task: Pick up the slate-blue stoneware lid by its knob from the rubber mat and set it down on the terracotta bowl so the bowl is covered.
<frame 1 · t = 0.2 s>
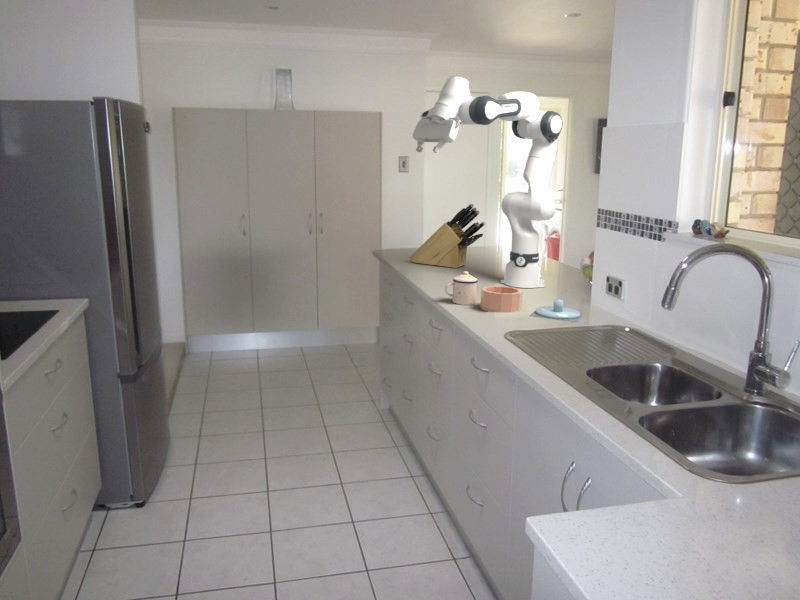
hand: (426, 151, 231), 54 cm above the worktop, tool tilted 30°, fingers open, 8 cm apart
teacup with lid: (460, 303, 240), on the worktop
knife block: (445, 265, 319), on the worktop
lid: (557, 314, 225), point 1 cm above the worktop, touching mat
mat: (557, 315, 225), on the worktop
bowl: (500, 308, 232), on the worktop
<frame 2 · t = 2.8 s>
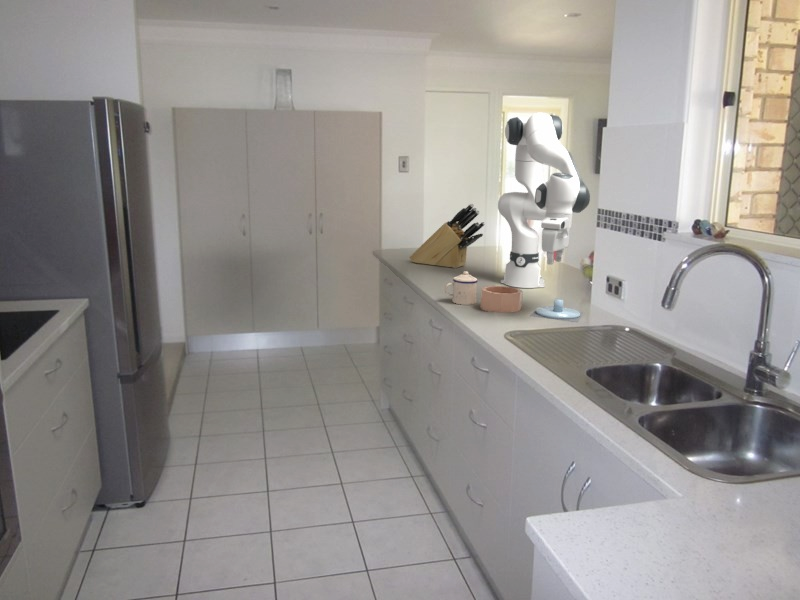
hand: (554, 262, 220), 19 cm above the worktop, tool pointing down, fingers open, 8 cm apart
nothing on the worktop moved.
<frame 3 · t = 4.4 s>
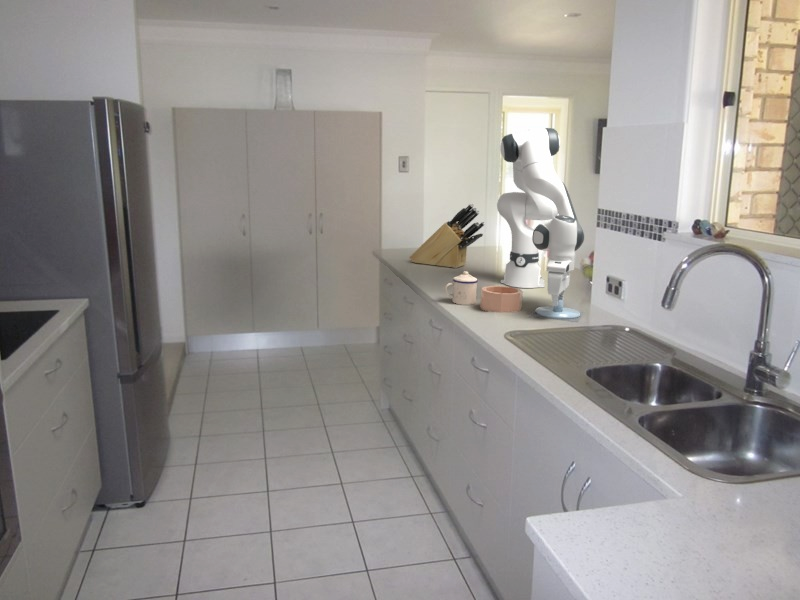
hand: (557, 303, 224), 4 cm above the worktop, tool pointing down, fingers open, 8 cm apart
nothing on the worktop moved.
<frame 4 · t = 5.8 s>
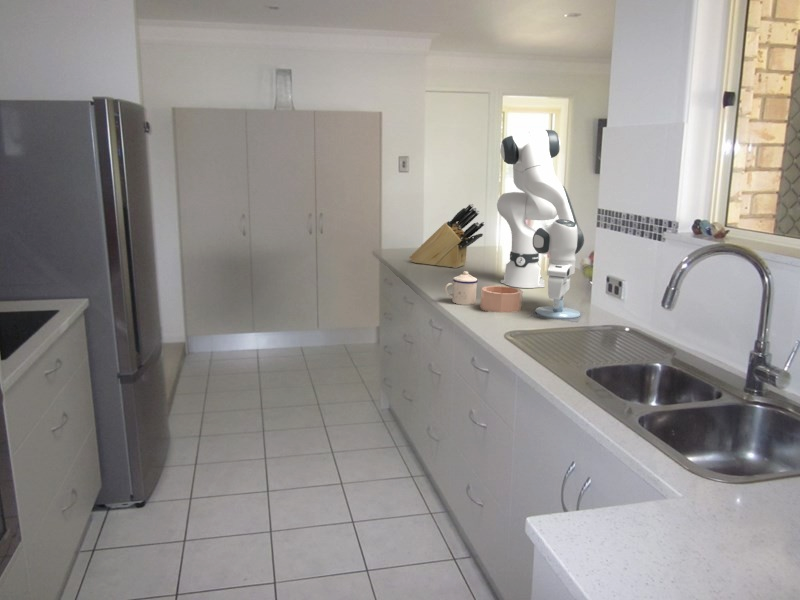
hand: (558, 306, 225), 3 cm above the worktop, tool pointing down, fingers closed on lid, 3 cm apart
lid: (557, 313, 225), point 1 cm above the worktop, touching gripper, mat
everything else where it was.
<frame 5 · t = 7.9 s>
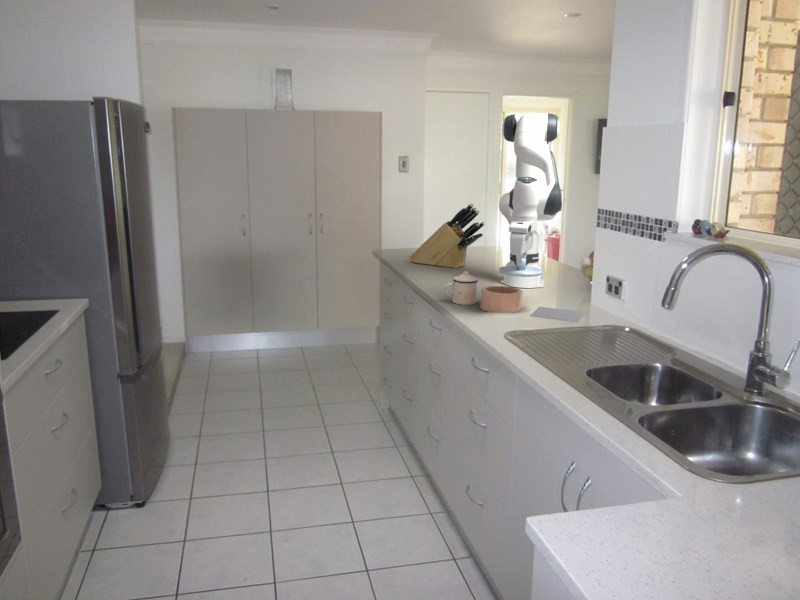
hand: (520, 264, 227), 17 cm above the worktop, tool pointing down, fingers closed on lid, 3 cm apart
lid: (520, 272, 227), point 14 cm above the worktop, touching gripper
everything else where it was.
when the fingers open (11 cm above the worktop, at t = 10.0 s): lid drops 1 cm, resting on bowl.
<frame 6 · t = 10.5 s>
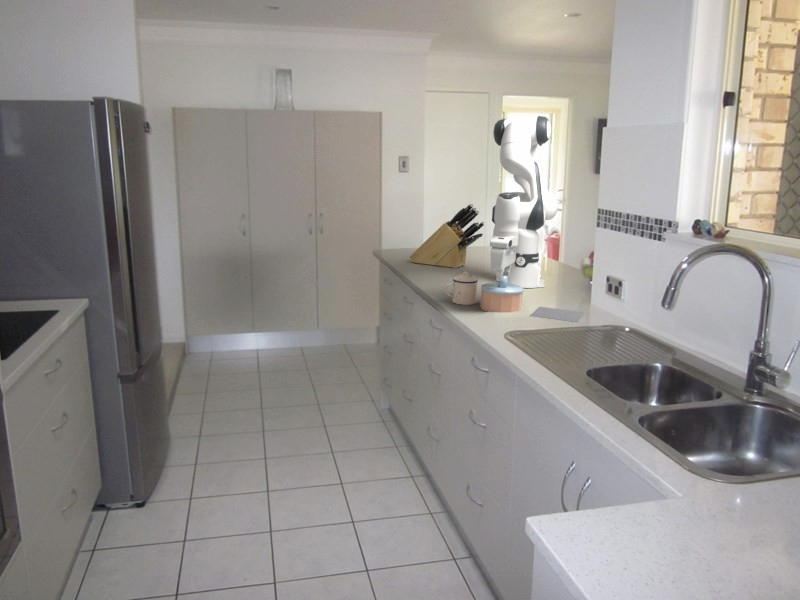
hand: (502, 278, 230), 11 cm above the worktop, tool pointing down, fingers open, 8 cm apart
lid: (502, 289, 231), point 7 cm above the worktop, touching bowl
everything else where it was.
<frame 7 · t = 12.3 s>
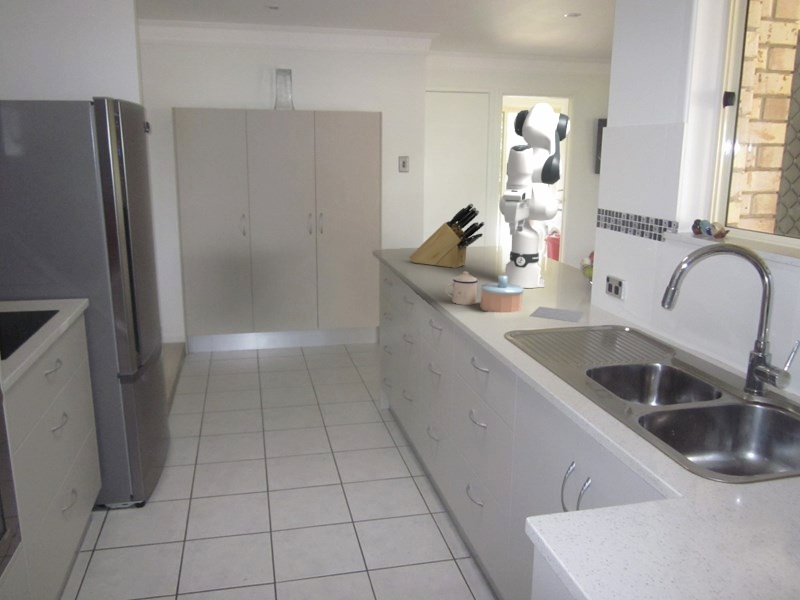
hand: (516, 233, 228), 27 cm above the worktop, tool pointing down, fingers open, 8 cm apart
nothing on the worktop moved.
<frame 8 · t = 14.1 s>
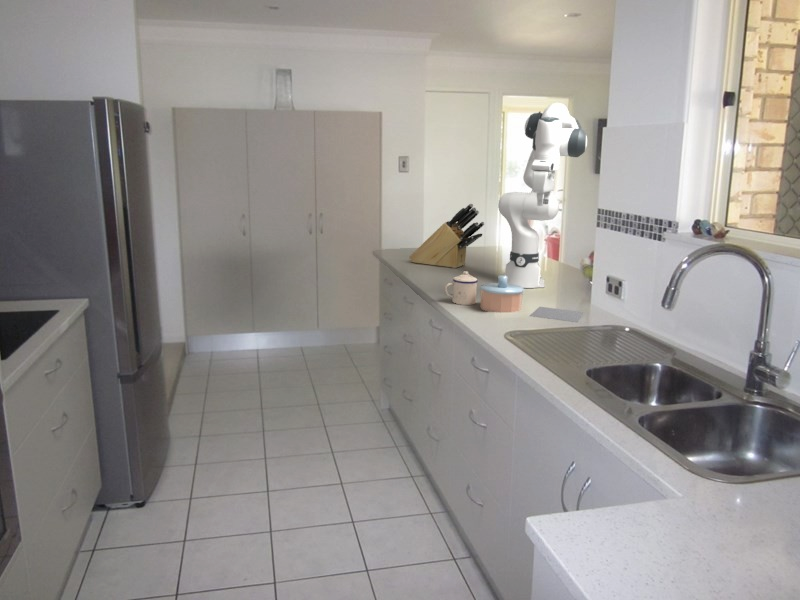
hand: (542, 204, 229), 37 cm above the worktop, tool pointing down, fingers open, 8 cm apart
nothing on the worktop moved.
at the end: lid 0.1 cm off-centre on the bowl, point 7.0 cm above the bowl's base; lid tilted 0°; the gripper is holding nothing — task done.
